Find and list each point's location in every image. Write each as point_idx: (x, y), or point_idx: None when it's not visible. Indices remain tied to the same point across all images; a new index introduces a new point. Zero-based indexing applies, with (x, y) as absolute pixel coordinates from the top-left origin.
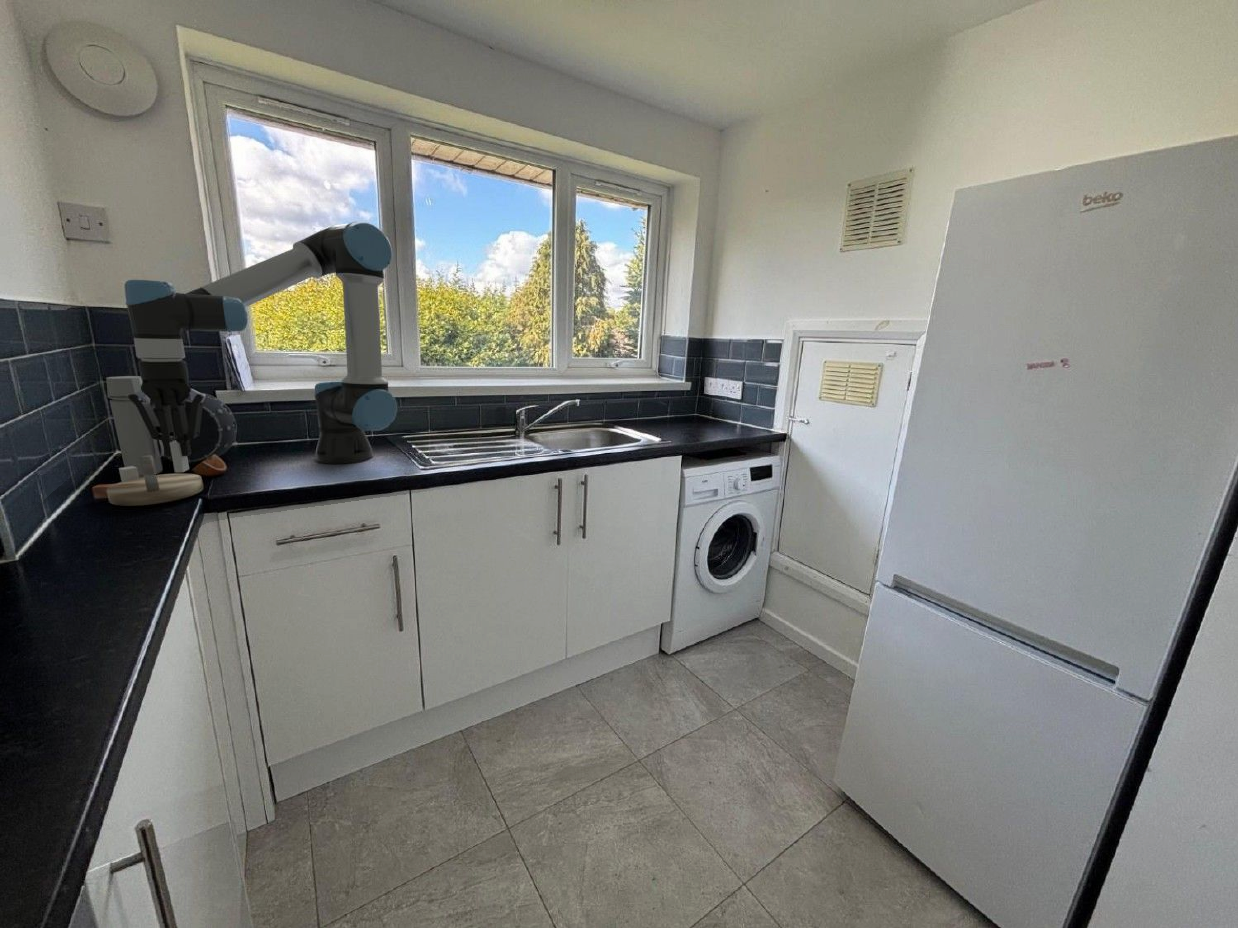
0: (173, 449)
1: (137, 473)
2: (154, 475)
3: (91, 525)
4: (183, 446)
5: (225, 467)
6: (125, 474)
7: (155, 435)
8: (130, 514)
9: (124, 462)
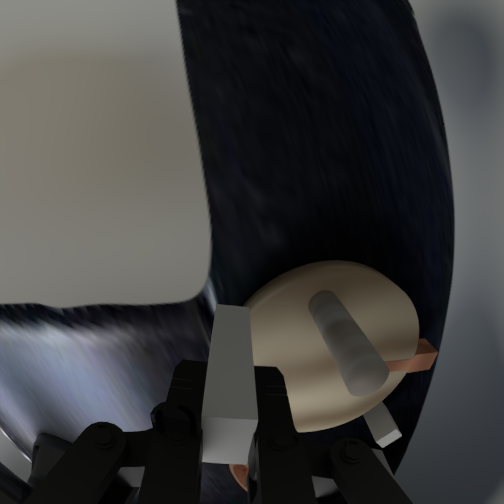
0: (239, 383)
1: (372, 431)
2: (326, 326)
3: (399, 159)
4: (185, 401)
5: (231, 470)
6: (390, 422)
7: (350, 461)
8: (349, 221)
9: (388, 466)
